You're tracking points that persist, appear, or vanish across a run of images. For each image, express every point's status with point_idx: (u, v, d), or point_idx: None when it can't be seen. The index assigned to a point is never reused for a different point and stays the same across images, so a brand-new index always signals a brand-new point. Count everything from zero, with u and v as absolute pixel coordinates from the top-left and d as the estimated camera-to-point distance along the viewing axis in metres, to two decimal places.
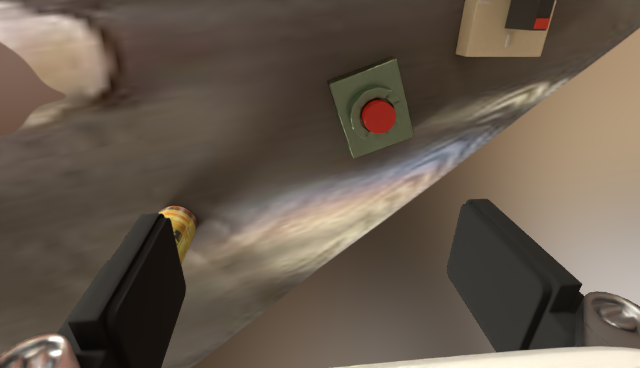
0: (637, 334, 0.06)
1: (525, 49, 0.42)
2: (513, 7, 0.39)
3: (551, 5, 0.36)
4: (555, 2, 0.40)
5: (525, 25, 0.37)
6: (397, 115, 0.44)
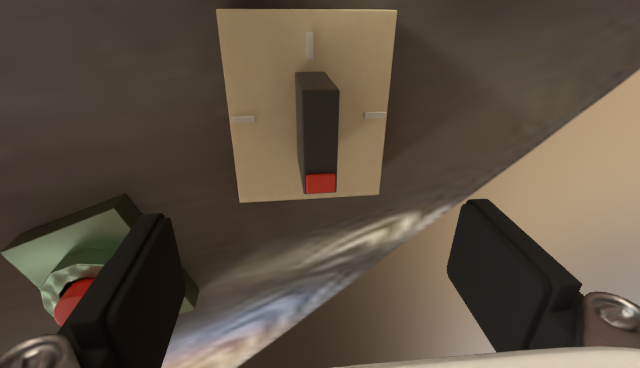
0: (637, 334, 0.06)
1: (347, 186, 0.24)
2: (297, 130, 0.20)
3: (332, 151, 0.17)
4: (384, 113, 0.22)
5: (301, 177, 0.19)
6: None
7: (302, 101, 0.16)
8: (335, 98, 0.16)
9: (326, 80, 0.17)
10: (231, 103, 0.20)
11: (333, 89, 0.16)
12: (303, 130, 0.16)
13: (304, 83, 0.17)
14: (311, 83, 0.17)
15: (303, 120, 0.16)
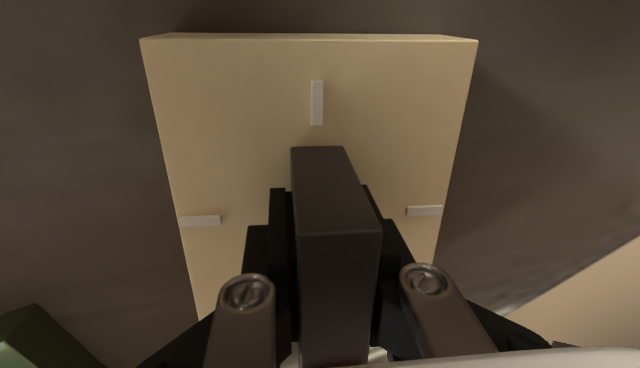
0: (444, 293, 0.07)
1: None
2: None
3: (361, 333, 0.08)
4: (441, 207, 0.13)
5: None
6: None
7: (299, 253, 0.07)
8: (373, 245, 0.07)
9: (349, 182, 0.09)
10: (178, 196, 0.12)
11: (369, 227, 0.07)
12: (301, 303, 0.08)
13: (305, 196, 0.08)
14: (319, 196, 0.08)
15: (301, 286, 0.07)
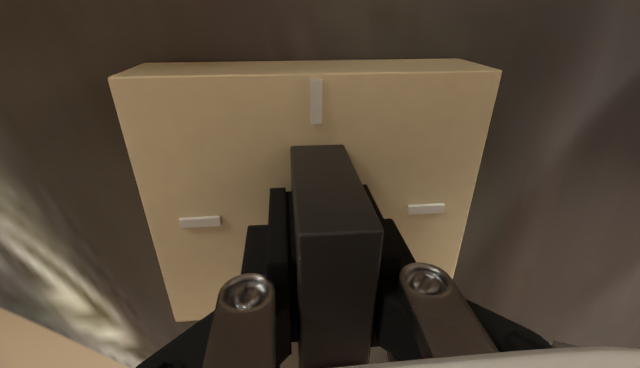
0: (444, 293, 0.07)
1: (185, 278, 0.13)
2: None
3: (362, 334, 0.08)
4: None
5: (298, 350, 0.10)
6: None
7: (299, 253, 0.07)
8: (374, 246, 0.07)
9: (350, 181, 0.09)
10: (347, 80, 0.10)
11: (370, 228, 0.07)
12: (301, 304, 0.08)
13: (305, 195, 0.08)
14: (320, 196, 0.08)
15: (301, 287, 0.07)
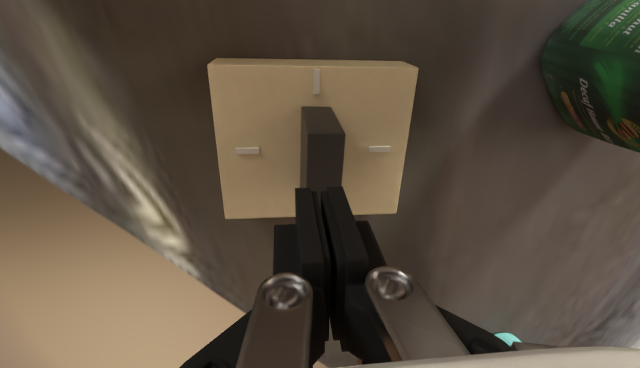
0: (411, 296, 0.07)
1: (234, 188, 0.22)
2: (301, 163, 0.20)
3: None
4: None
5: None
6: None
7: (308, 143, 0.16)
8: (341, 141, 0.16)
9: (332, 119, 0.18)
10: (333, 70, 0.19)
11: (339, 132, 0.16)
12: (307, 171, 0.16)
13: (310, 123, 0.17)
14: (317, 123, 0.17)
15: (308, 161, 0.16)
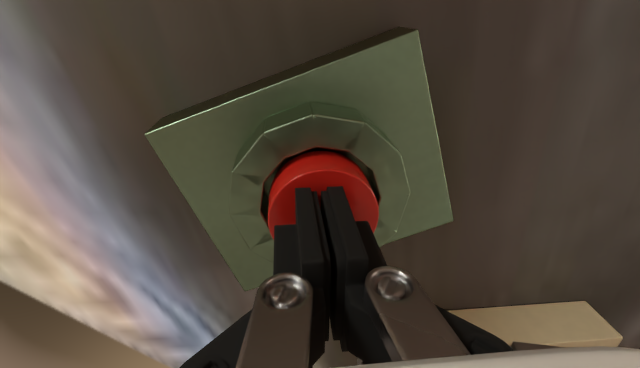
0: (411, 296, 0.07)
1: None
2: None
3: None
4: None
5: None
6: None
7: None
8: None
9: None
10: None
11: None
12: None
13: None
14: None
15: None
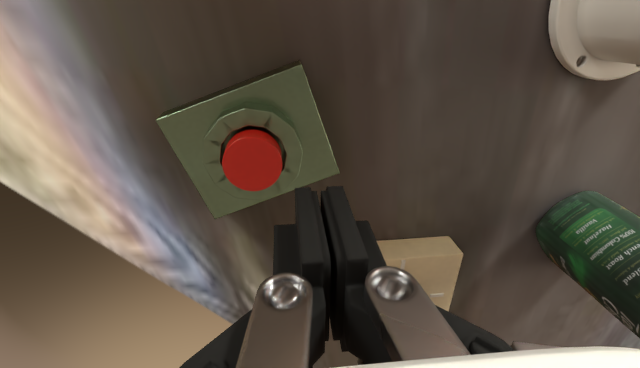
0: (410, 296, 0.07)
1: None
2: None
3: None
4: None
5: None
6: None
7: None
8: None
9: None
10: (413, 259, 0.32)
11: None
12: None
13: None
14: None
15: None
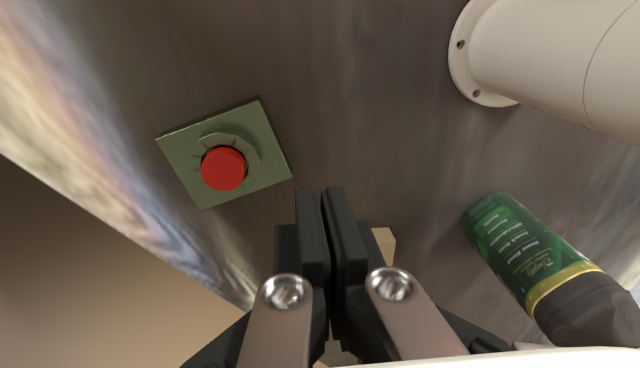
0: (411, 296, 0.07)
1: None
2: None
3: None
4: None
5: None
6: None
7: None
8: None
9: None
10: None
11: None
12: None
13: None
14: None
15: None
